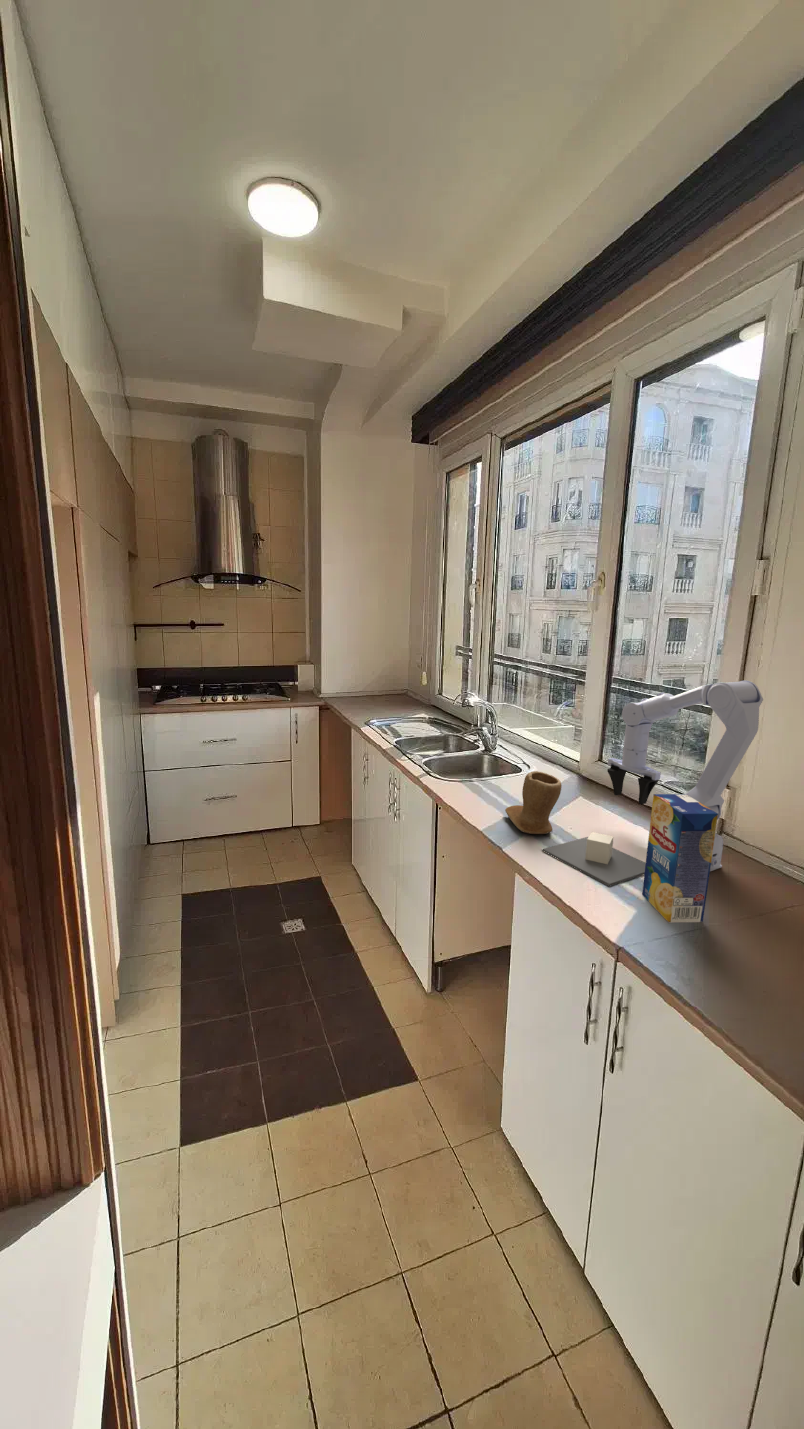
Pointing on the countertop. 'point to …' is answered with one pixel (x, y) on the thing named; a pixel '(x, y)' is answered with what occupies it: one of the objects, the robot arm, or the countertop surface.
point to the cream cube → (599, 848)
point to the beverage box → (679, 857)
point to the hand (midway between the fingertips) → (629, 799)
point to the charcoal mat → (609, 874)
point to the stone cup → (536, 803)
